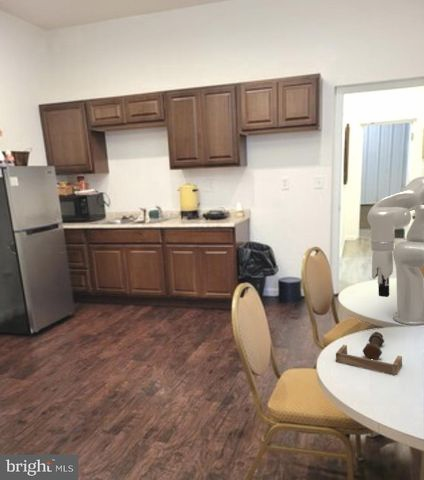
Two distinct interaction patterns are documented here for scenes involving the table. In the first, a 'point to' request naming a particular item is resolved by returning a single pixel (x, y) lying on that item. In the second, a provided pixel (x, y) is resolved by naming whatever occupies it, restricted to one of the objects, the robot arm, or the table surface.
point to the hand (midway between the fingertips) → (384, 295)
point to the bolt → (374, 346)
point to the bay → (368, 362)
